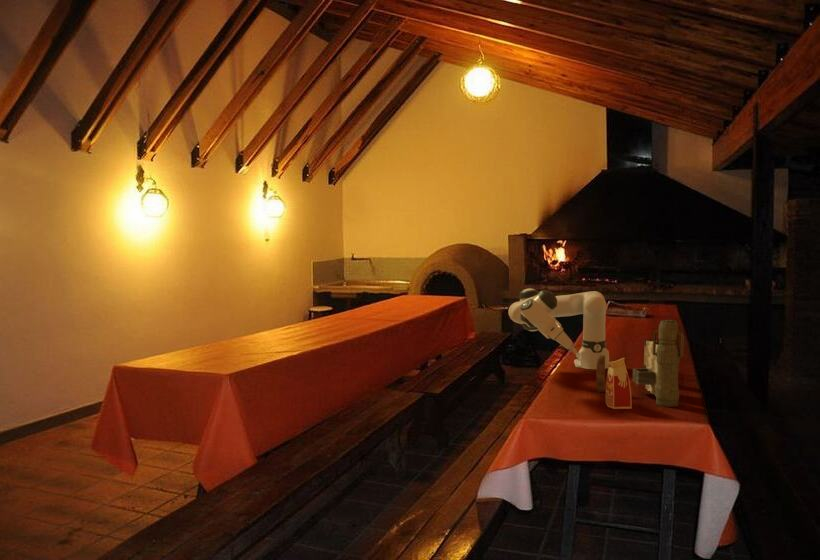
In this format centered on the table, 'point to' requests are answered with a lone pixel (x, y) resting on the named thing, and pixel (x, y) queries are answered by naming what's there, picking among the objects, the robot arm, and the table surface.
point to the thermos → (668, 362)
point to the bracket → (648, 370)
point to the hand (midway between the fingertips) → (573, 350)
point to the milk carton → (618, 386)
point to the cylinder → (600, 373)
